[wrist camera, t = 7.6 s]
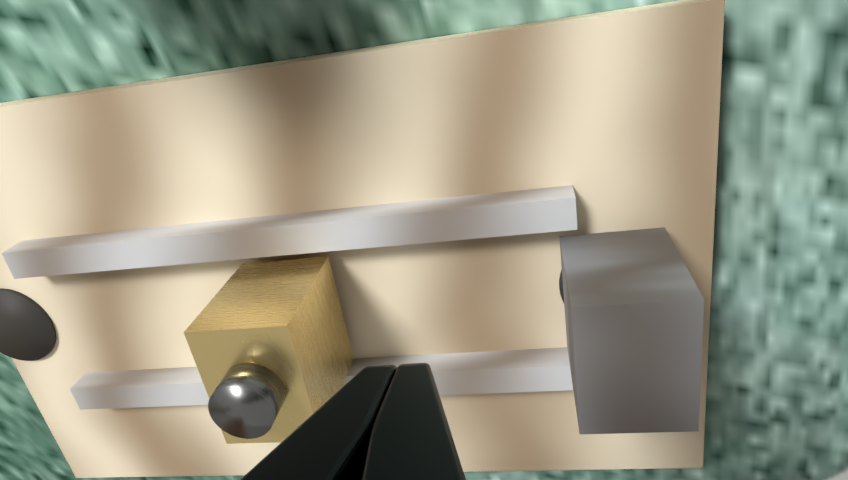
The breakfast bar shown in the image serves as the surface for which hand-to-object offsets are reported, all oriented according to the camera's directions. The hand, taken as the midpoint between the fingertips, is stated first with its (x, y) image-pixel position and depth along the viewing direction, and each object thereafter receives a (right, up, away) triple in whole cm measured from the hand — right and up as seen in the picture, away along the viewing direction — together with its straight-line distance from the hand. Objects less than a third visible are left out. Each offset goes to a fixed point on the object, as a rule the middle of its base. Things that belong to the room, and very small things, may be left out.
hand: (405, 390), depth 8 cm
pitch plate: (-4, 0, +14) cm, 14 cm away
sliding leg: (-4, 0, +13) cm, 13 cm away
